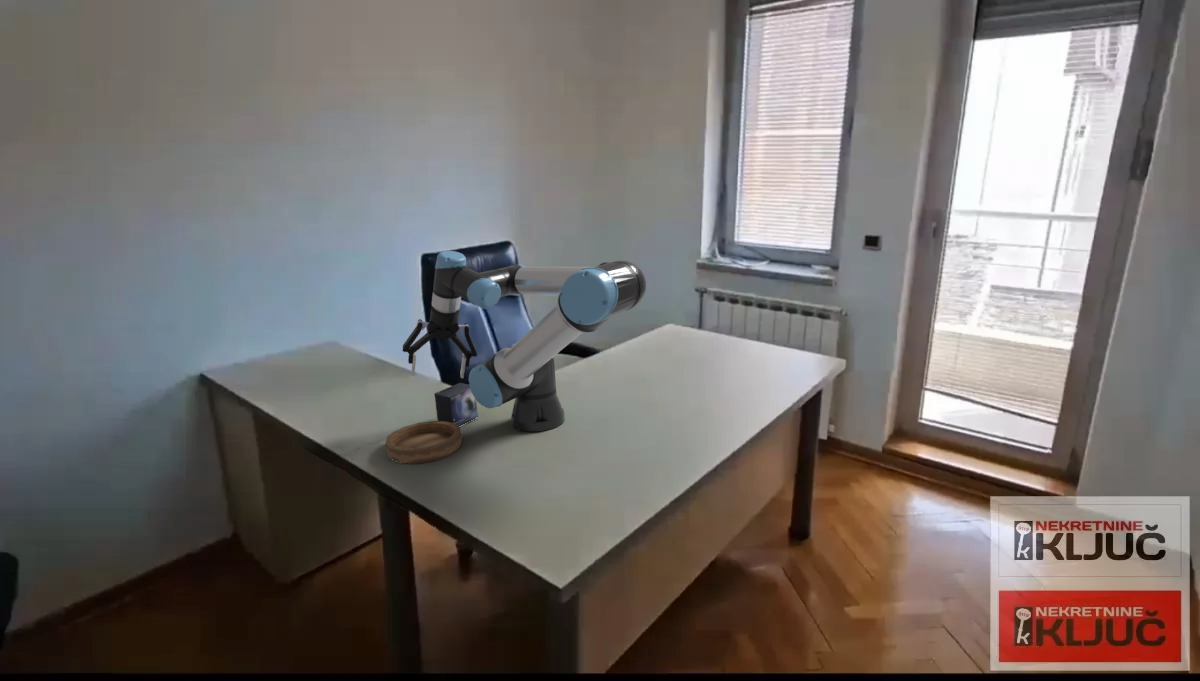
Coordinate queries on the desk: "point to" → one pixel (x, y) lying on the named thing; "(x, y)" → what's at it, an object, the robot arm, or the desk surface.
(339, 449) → the desk surface
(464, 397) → the small box
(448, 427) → the tray
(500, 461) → the desk surface
